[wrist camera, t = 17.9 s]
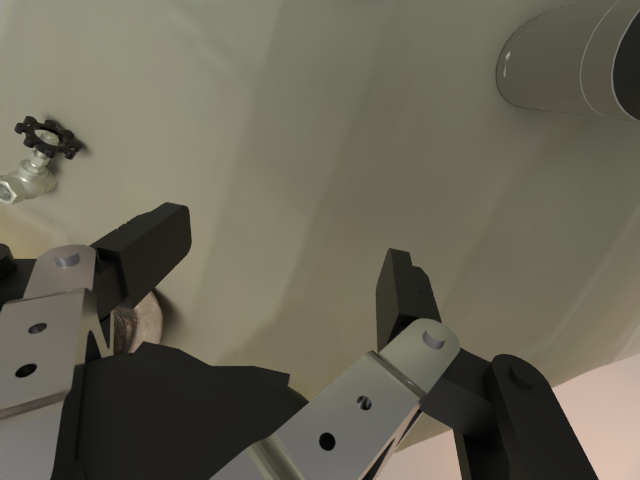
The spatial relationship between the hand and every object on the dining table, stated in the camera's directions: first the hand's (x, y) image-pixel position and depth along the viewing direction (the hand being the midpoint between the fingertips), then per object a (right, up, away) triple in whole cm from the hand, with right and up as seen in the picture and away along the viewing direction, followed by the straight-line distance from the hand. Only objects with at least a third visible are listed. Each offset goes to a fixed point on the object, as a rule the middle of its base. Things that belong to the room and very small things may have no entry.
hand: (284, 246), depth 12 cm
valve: (-38, +12, +33) cm, 51 cm away
